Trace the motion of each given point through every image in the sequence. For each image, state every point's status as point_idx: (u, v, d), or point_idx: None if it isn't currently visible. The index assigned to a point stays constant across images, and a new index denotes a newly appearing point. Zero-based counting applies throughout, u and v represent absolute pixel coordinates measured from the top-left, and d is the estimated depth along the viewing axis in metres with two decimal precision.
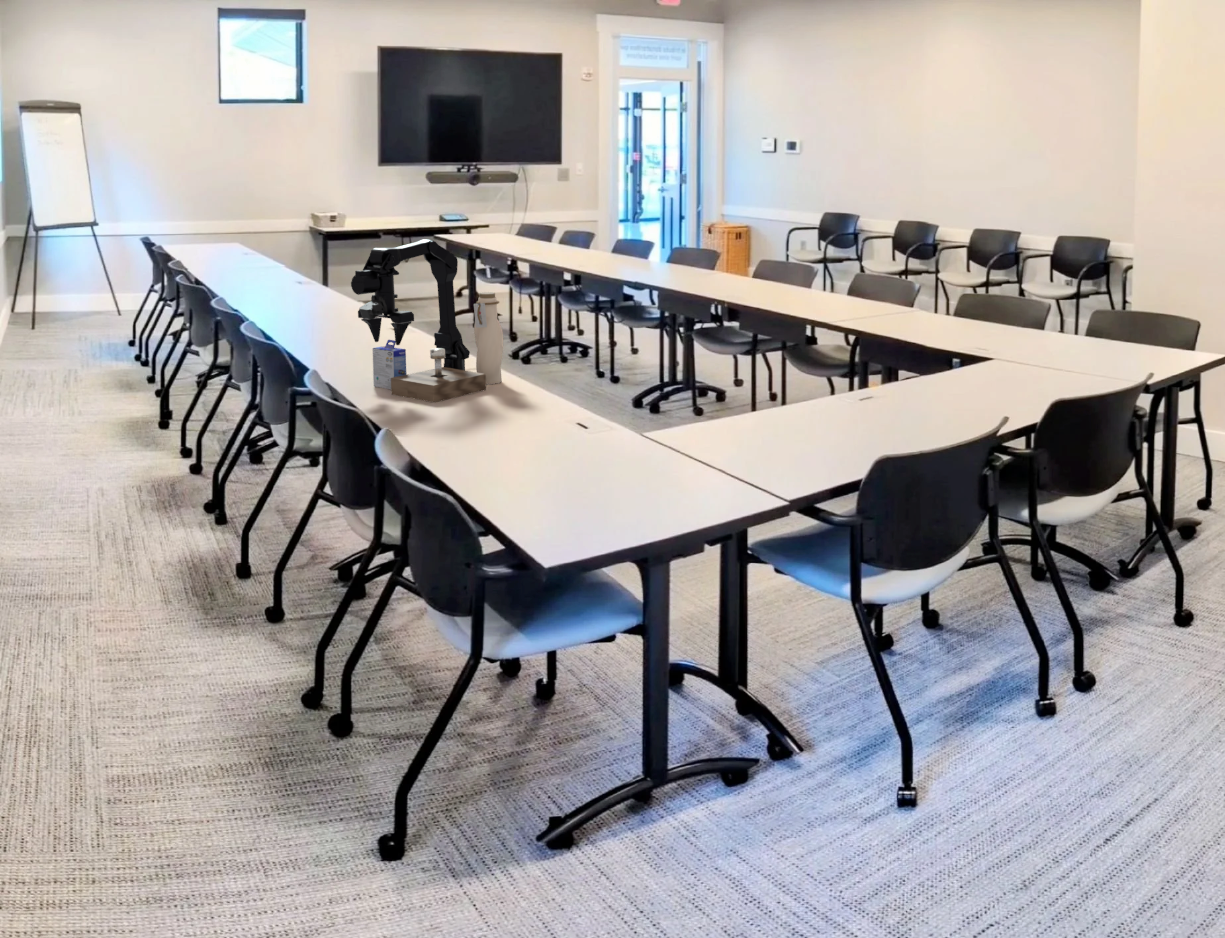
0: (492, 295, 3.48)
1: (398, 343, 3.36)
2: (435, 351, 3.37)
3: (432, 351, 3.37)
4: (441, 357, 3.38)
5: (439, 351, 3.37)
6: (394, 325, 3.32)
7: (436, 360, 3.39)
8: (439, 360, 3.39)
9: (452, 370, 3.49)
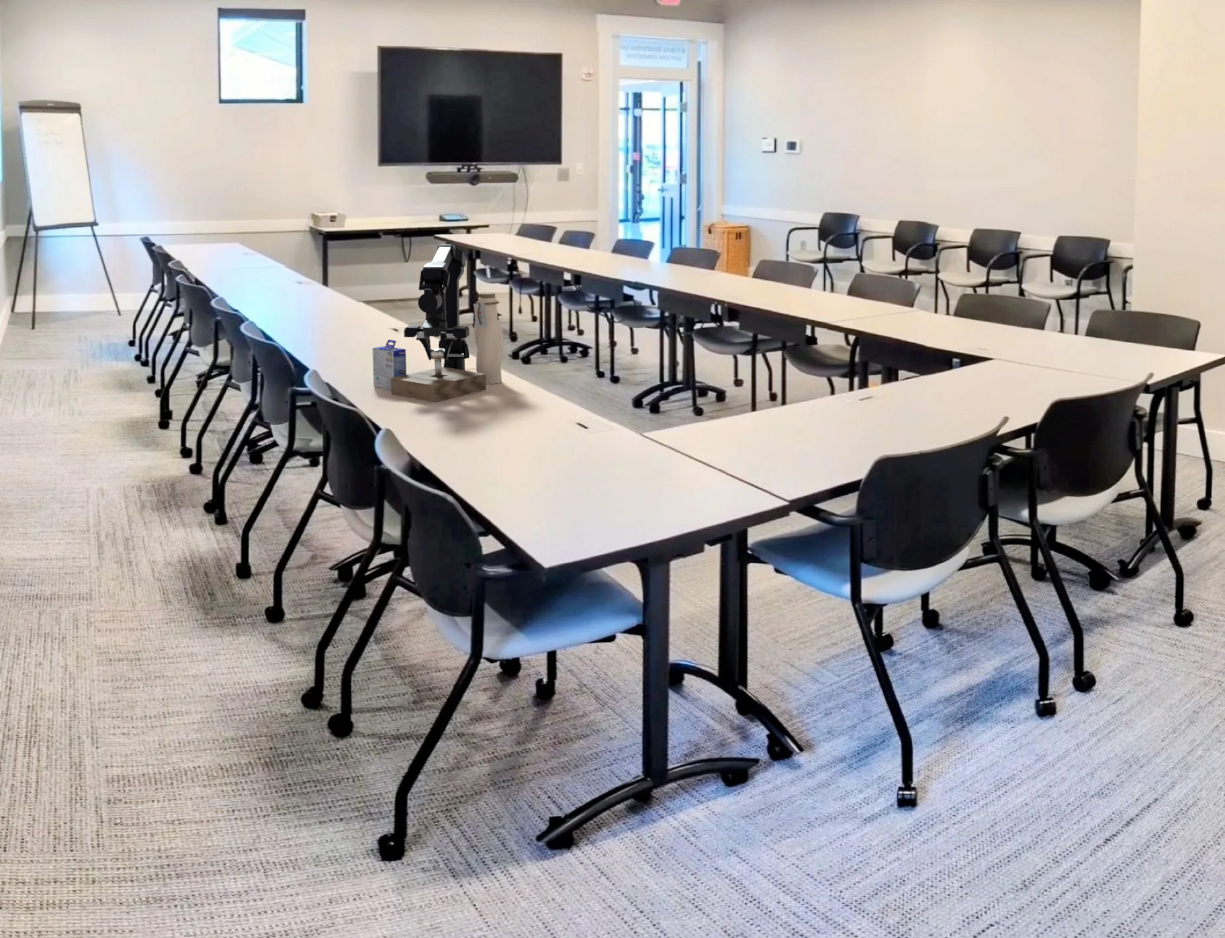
0: (492, 295, 3.48)
1: (446, 358, 3.39)
2: (435, 351, 3.37)
3: (432, 351, 3.37)
4: (441, 357, 3.38)
5: (439, 351, 3.37)
6: (448, 340, 3.35)
7: (436, 360, 3.39)
8: (439, 360, 3.39)
9: (452, 370, 3.49)
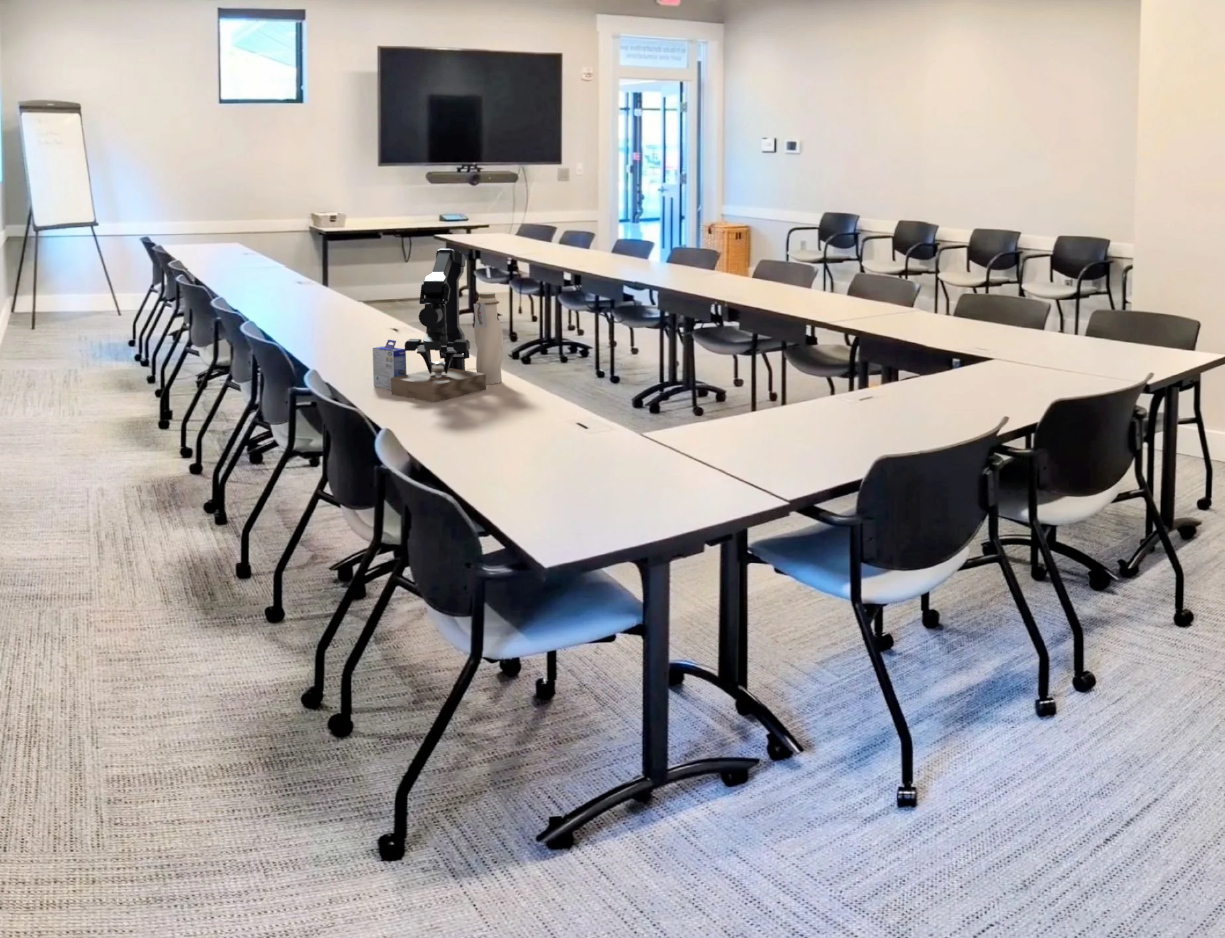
0: (492, 295, 3.48)
1: (447, 372, 3.40)
2: (436, 364, 3.38)
3: (433, 364, 3.38)
4: (442, 370, 3.39)
5: (440, 364, 3.38)
6: (449, 354, 3.36)
7: (437, 373, 3.40)
8: (440, 373, 3.40)
9: (452, 370, 3.49)
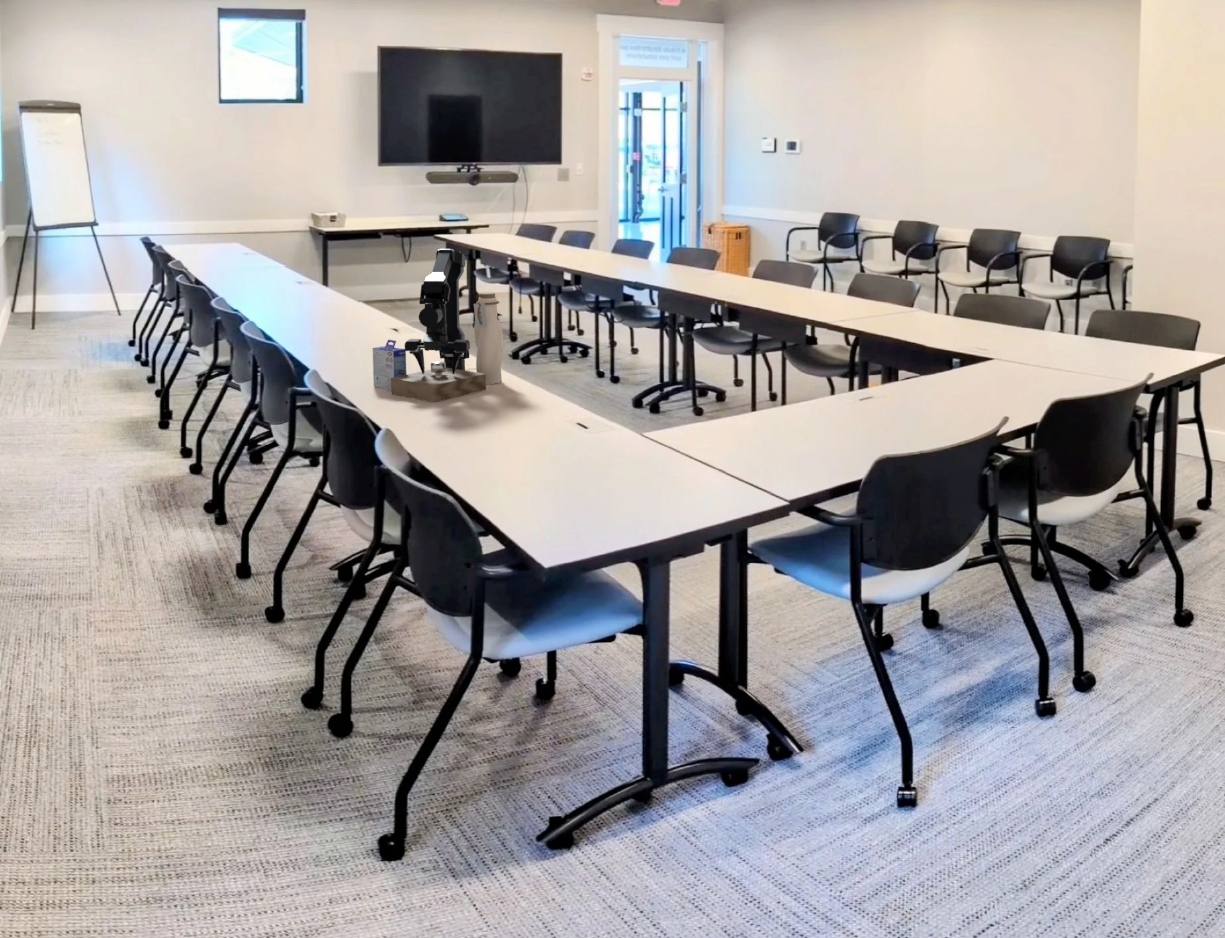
0: (492, 295, 3.48)
1: (454, 372, 3.40)
2: (436, 365, 3.38)
3: (433, 365, 3.38)
4: (442, 370, 3.39)
5: (440, 365, 3.38)
6: (456, 354, 3.36)
7: (437, 373, 3.40)
8: (440, 373, 3.40)
9: None
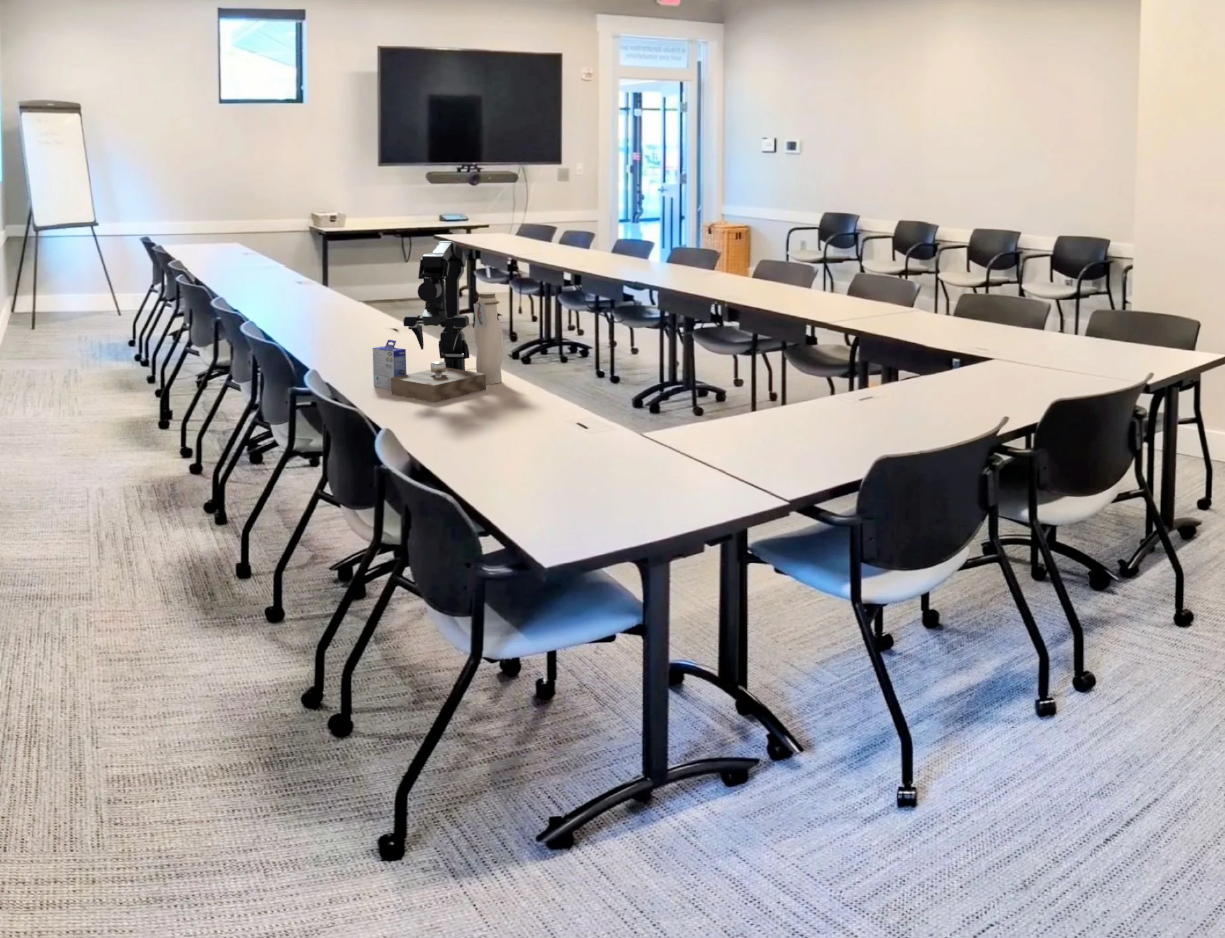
0: (492, 295, 3.48)
1: (453, 348, 3.38)
2: (436, 365, 3.38)
3: (433, 365, 3.38)
4: (442, 370, 3.39)
5: (440, 365, 3.38)
6: (455, 330, 3.34)
7: (437, 373, 3.40)
8: (440, 373, 3.40)
9: (452, 370, 3.49)
